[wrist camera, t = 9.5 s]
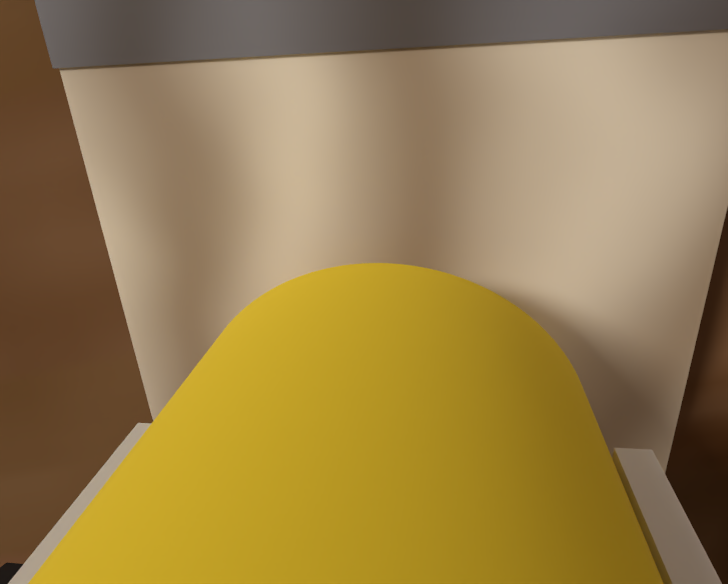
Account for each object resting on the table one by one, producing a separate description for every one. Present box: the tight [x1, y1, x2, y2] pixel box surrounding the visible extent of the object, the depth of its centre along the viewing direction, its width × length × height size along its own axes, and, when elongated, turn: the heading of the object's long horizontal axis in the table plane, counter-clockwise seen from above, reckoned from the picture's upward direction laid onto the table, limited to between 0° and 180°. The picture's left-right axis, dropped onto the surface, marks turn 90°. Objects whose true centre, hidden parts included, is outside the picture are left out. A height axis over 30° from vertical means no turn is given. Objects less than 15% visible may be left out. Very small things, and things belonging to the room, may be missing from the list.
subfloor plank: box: [35, 0, 728, 473], centre depth 15 cm, size 16×34×2 cm, turn 3°
